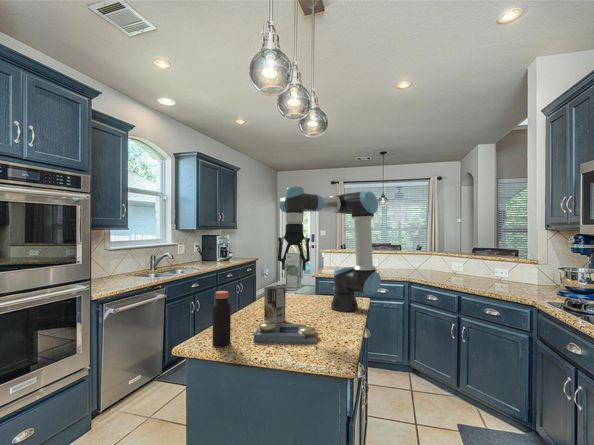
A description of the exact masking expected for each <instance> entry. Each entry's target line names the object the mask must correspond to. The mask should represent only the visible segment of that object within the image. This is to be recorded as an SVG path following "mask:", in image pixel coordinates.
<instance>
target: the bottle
mask: <svg viewBox="0 0 594 445" xmlns="http://www.w3.org/2000/svg"><path fill="white" fill-rule="evenodd" d="M214 294H215V303H213V304H212V346H213V347H215V348H224V347H228V346H230V345H231V340H232V339H231V336H232V334H231V333H232V332H231V331H232V330H231V329H232V328H231V326H232V325H231V322H232V321H231V320H232V319H231V318H232V314H231V311H232V305H231V303H230V301H228V299H229V290H228V291H227V290H219V291H218V290H217V291H215V293H214Z"/></svg>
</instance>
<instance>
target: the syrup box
mask: <svg viewBox="0 0 594 445" xmlns="http://www.w3.org/2000/svg"><path fill="white" fill-rule="evenodd" d="M285 262H286V278H285V289H288V288H289V289H300V288H301V287H302V286H303V285H302V279H301V263H303V261H302V258H301V255H300V252H288V253H286V260H285Z"/></svg>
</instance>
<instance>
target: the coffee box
mask: <svg viewBox="0 0 594 445" xmlns="http://www.w3.org/2000/svg"><path fill="white" fill-rule="evenodd" d="M263 292H264V293H263V296H264V298H263V300H264V302H263V304H264V314H263V315H264V316H263V317H264V319H263V320H264V321H266V322H273V323H275V324H280V323H282V322H286V287H283V286H278V285H271V286H265V287H263Z"/></svg>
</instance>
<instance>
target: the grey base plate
mask: <svg viewBox="0 0 594 445" xmlns="http://www.w3.org/2000/svg"><path fill="white" fill-rule="evenodd" d="M316 330H317V329H316V328H315V327H313V326H308V325H306V326H304V327H300V328H298V331H300V332H303V333H305V340H279V339H269V343H268V344H284V345H286V344H289V345H290V344H291V345H292V344H293V345H294V344H295V345H316ZM298 331H294V330H280V332H279V333H298Z"/></svg>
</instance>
